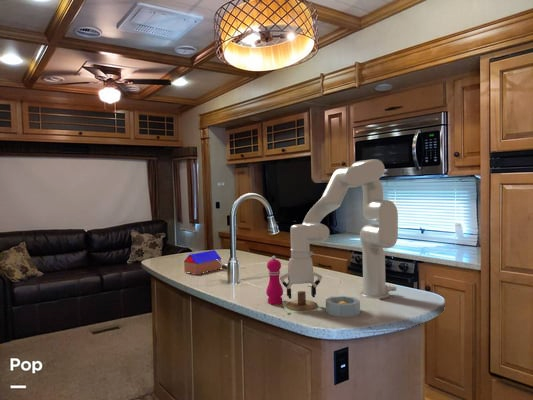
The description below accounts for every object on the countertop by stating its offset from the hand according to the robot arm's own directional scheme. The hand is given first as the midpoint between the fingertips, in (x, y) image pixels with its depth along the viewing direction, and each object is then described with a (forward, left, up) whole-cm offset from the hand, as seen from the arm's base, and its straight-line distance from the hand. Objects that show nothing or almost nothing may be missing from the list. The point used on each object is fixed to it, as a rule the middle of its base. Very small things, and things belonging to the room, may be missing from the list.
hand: (301, 297), depth 158 cm
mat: (0, 0, -4) cm, 4 cm away
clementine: (-14, +10, -4) cm, 18 cm away
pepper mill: (+10, -10, -4) cm, 14 cm away
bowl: (-14, +10, -4) cm, 18 cm away
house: (+44, -85, -5) cm, 96 cm away
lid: (0, 0, -4) cm, 4 cm away
